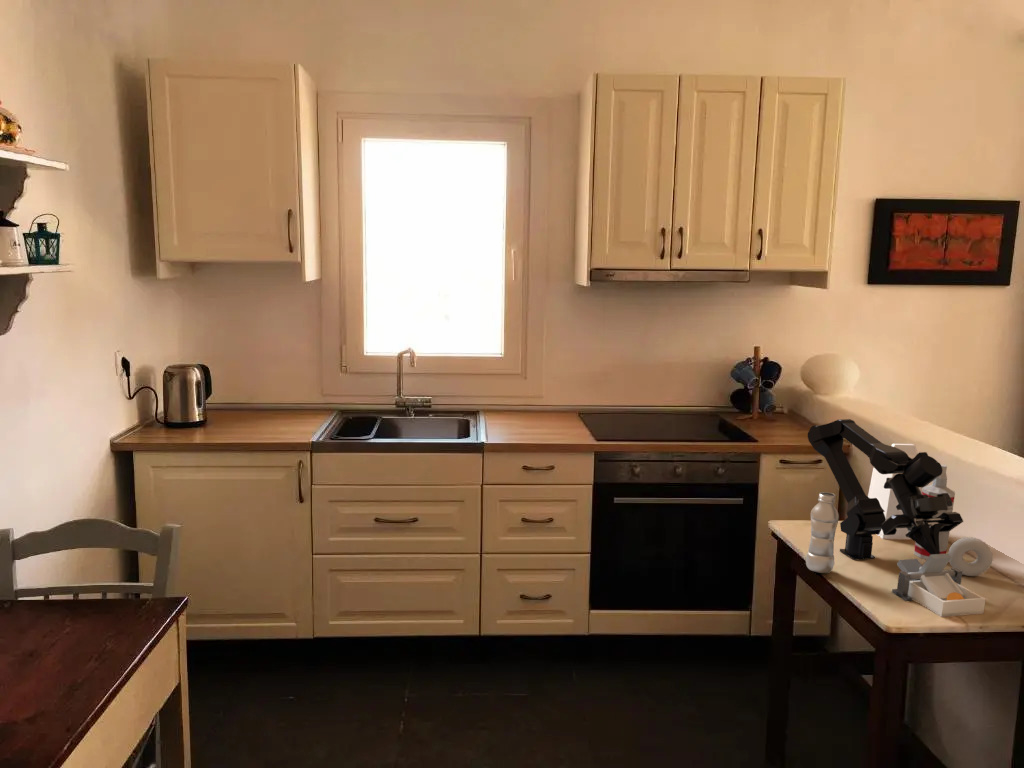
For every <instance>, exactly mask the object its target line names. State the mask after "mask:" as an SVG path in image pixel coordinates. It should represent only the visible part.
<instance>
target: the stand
mask: <svg viewBox="0 0 1024 768" xmlns="http://www.w3.org/2000/svg"><path fill="white" fill-rule="evenodd" d="M950 570H954V571H955V576H954V577H951V578H952V579H953V581H954V582H956V583H958V584H959V585H961V586H962V578H963V575H962V572H963V571H961V570H959V569H957V568H953V567H951V568H950ZM909 582H910V574H908V573H906V572H905V571H904V572H902V571H899V572H898V578H897V586H896V588H892V590H891V593H892V594H893V595H896V596H897V597H899V598H900V599H902V600H904V601H905V602H906V601H909V602H913V599H912V597H910V596H908V590H909Z"/></svg>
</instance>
